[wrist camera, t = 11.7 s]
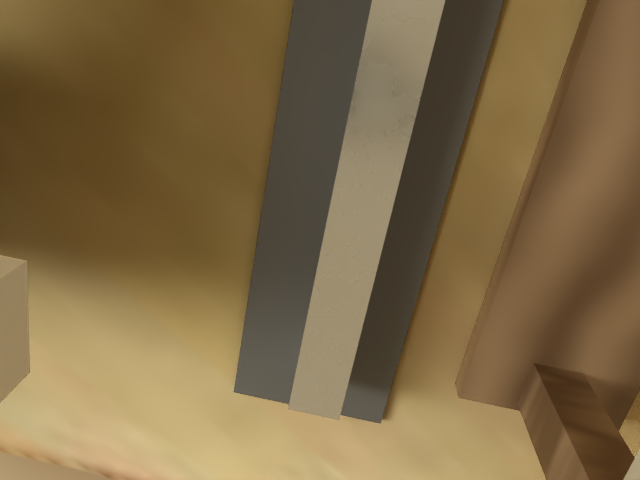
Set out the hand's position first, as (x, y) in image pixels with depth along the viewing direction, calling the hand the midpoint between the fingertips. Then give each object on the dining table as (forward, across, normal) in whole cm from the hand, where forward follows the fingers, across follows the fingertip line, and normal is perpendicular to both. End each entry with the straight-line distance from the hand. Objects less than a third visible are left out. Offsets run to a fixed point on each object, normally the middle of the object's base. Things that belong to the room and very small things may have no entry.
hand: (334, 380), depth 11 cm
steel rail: (+20, +1, 0) cm, 20 cm away
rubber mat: (+20, 0, 0) cm, 20 cm away
